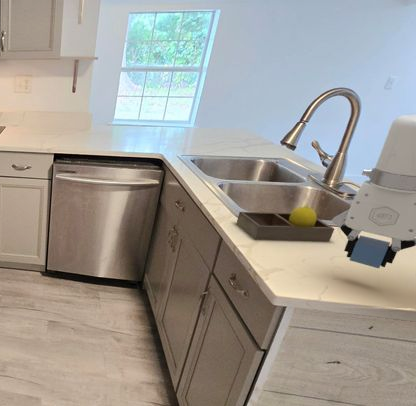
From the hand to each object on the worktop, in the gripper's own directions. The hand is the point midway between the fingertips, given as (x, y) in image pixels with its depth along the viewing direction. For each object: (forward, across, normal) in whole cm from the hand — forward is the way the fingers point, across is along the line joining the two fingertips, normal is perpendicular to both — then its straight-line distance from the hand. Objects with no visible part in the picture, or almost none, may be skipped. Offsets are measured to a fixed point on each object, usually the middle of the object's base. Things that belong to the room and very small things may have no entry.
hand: (366, 259), depth 78 cm
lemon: (+6, -15, +19) cm, 25 cm away
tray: (+6, -18, +16) cm, 25 cm away
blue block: (0, 0, 0) cm, 0 cm away
